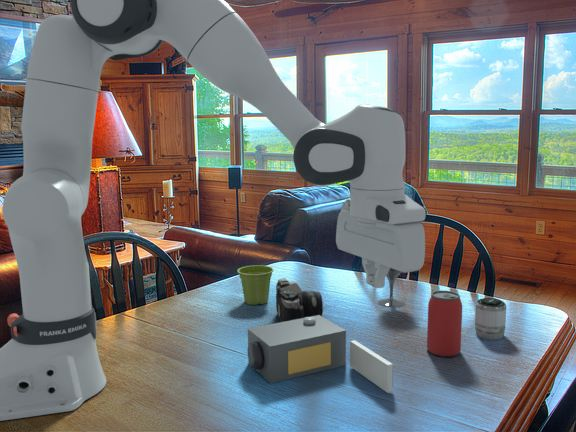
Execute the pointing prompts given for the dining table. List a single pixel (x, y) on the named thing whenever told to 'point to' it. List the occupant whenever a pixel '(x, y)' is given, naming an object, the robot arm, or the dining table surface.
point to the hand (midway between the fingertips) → (375, 285)
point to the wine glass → (391, 291)
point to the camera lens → (490, 318)
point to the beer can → (444, 323)
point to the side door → (371, 366)
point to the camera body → (296, 348)
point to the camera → (296, 301)
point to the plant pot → (255, 283)
